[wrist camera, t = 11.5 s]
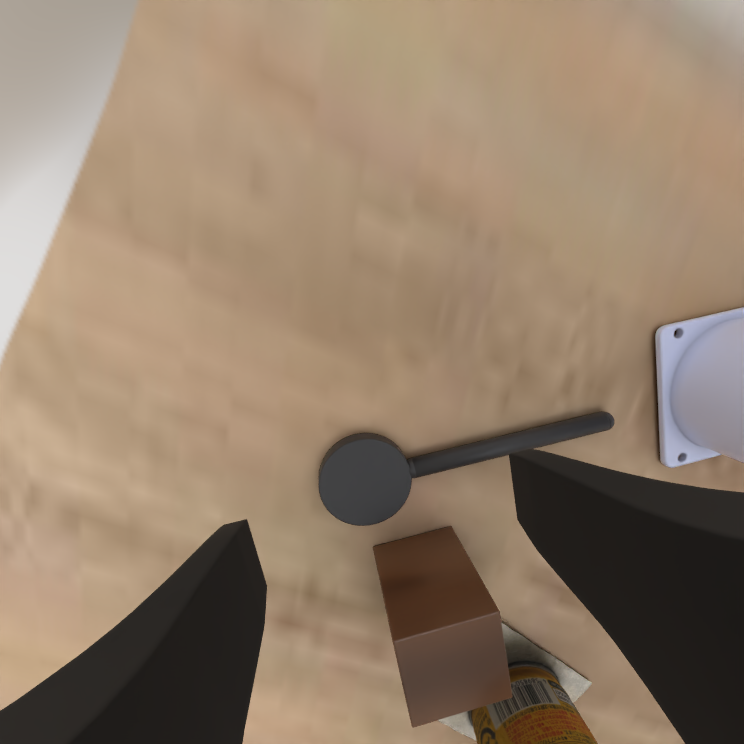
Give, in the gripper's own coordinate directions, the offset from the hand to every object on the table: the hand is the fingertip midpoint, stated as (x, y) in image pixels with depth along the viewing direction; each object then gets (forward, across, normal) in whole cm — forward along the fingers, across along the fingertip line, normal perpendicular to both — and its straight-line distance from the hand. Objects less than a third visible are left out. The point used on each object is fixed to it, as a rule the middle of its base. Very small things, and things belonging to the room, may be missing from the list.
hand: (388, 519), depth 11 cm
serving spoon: (+9, -5, +3) cm, 11 cm away
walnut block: (+9, -2, +10) cm, 14 cm away
